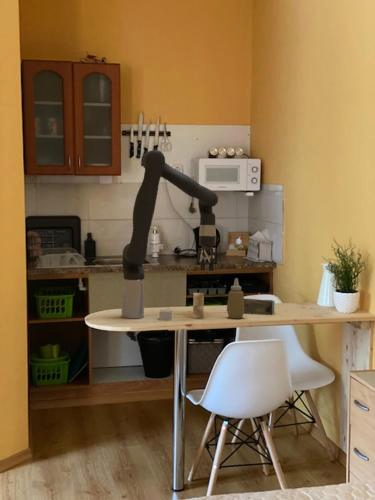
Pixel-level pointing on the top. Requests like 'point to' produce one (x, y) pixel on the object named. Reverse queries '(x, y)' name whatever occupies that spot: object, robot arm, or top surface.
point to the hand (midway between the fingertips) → (206, 270)
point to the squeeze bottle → (235, 301)
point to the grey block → (165, 314)
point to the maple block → (198, 305)
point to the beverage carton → (259, 306)
